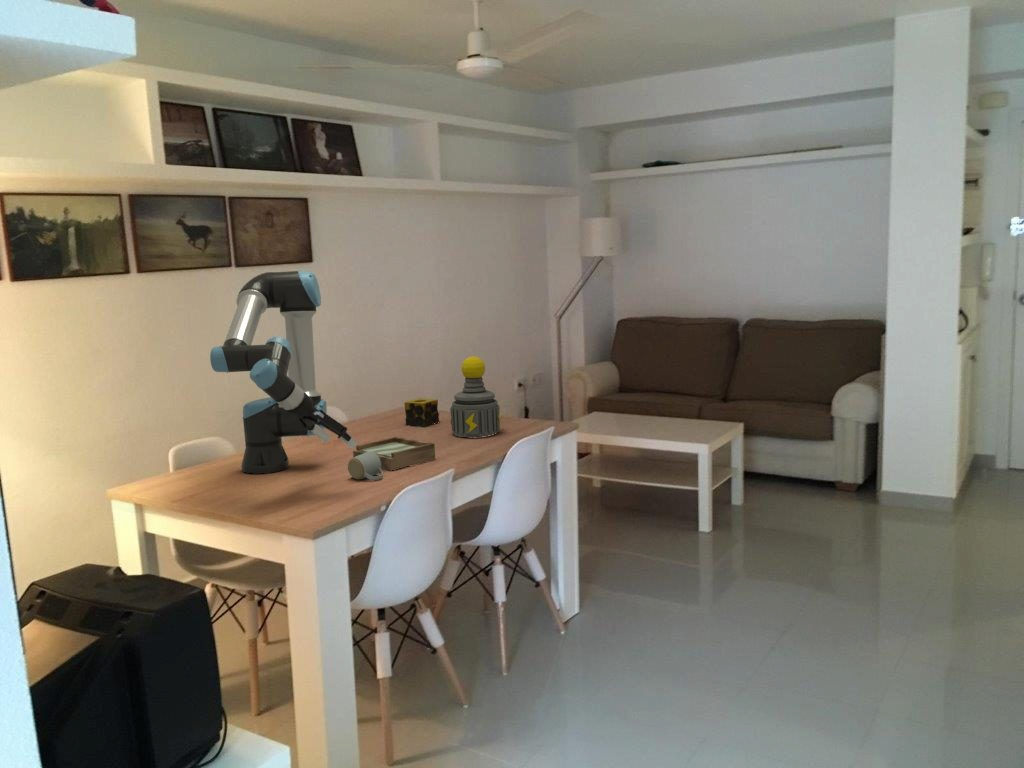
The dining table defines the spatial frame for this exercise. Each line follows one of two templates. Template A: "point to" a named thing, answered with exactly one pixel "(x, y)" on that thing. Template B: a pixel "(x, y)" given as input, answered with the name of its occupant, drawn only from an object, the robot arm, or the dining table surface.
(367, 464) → the ceramic mug
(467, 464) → the dining table surface
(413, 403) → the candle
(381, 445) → the walnut tray
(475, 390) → the decorative lamp
